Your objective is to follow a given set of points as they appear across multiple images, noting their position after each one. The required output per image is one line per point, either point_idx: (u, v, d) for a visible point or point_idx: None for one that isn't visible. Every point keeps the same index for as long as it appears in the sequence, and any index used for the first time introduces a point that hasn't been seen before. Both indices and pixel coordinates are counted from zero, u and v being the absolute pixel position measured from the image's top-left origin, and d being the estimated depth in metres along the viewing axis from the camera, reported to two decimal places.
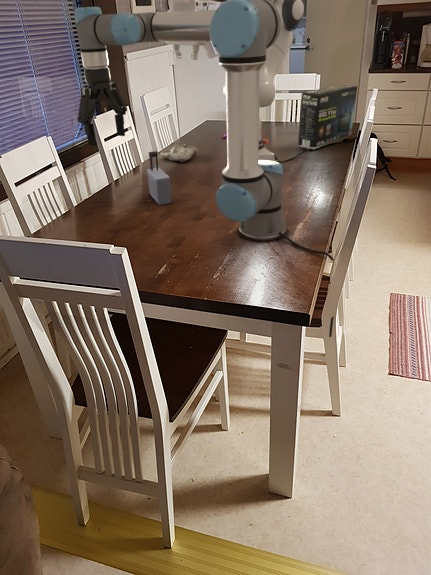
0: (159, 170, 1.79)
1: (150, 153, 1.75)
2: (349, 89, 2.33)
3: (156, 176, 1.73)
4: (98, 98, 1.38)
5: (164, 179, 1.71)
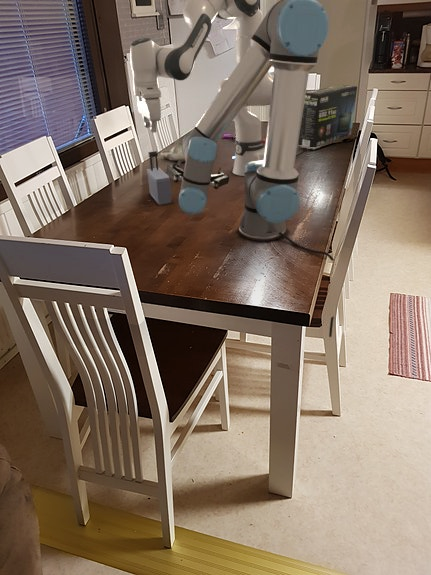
0: (159, 170, 1.79)
1: (150, 153, 1.75)
2: (349, 89, 2.33)
3: (156, 176, 1.73)
4: None
5: (164, 179, 1.71)
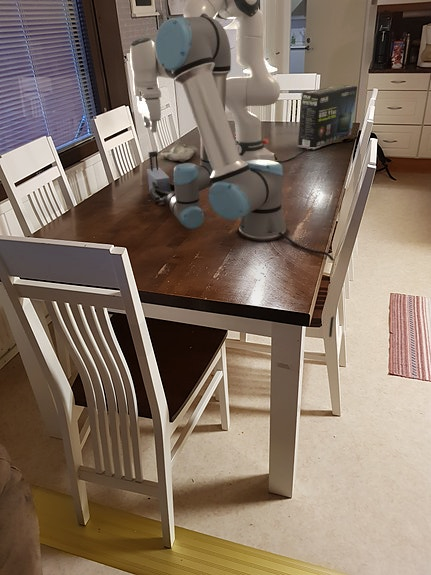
0: (159, 170, 1.79)
1: (150, 153, 1.75)
2: (349, 89, 2.33)
3: (156, 176, 1.73)
4: None
5: (164, 179, 1.71)
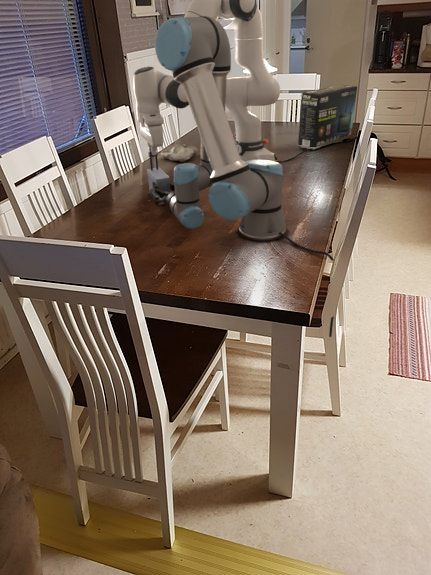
0: (159, 170, 1.79)
1: (150, 153, 1.75)
2: (349, 89, 2.33)
3: (156, 176, 1.73)
4: None
5: (164, 179, 1.70)
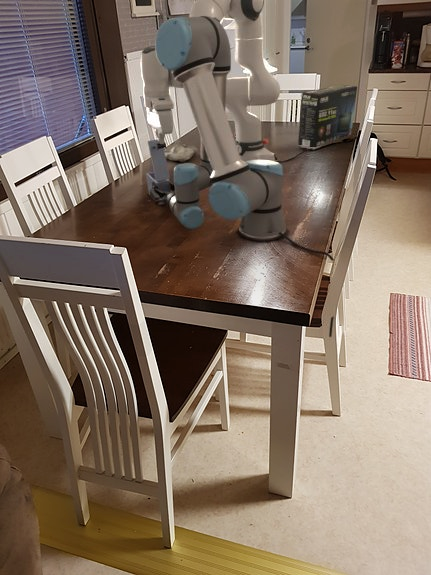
0: (161, 150, 1.67)
1: (158, 148, 1.60)
2: (349, 89, 2.33)
3: (157, 169, 1.68)
4: None
5: (164, 179, 1.70)
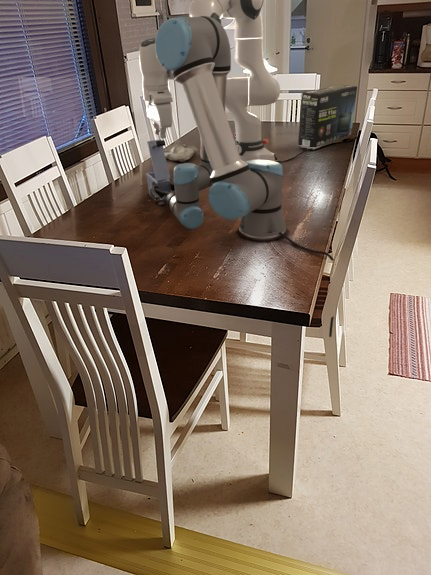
0: (161, 150, 1.69)
1: (158, 145, 1.62)
2: (349, 89, 2.33)
3: (157, 169, 1.69)
4: None
5: (164, 179, 1.71)
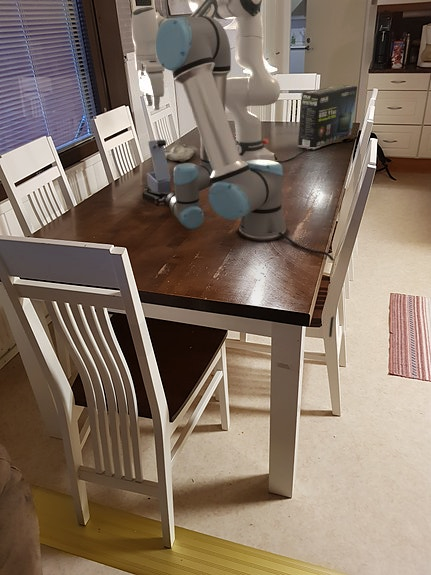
0: (161, 150, 1.69)
1: (158, 145, 1.62)
2: (349, 89, 2.33)
3: (158, 169, 1.69)
4: None
5: (165, 179, 1.71)
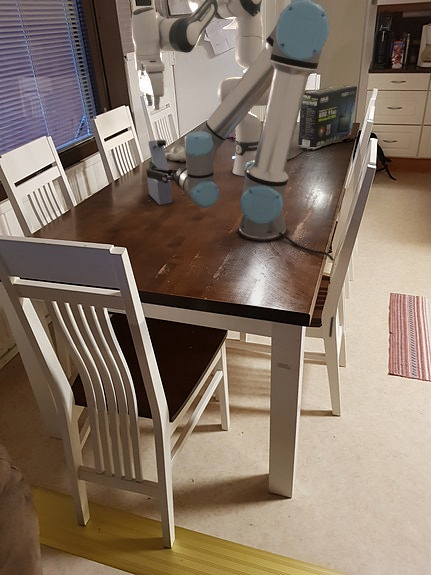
0: (161, 150, 1.69)
1: (158, 145, 1.62)
2: (349, 89, 2.33)
3: None
4: None
5: None
